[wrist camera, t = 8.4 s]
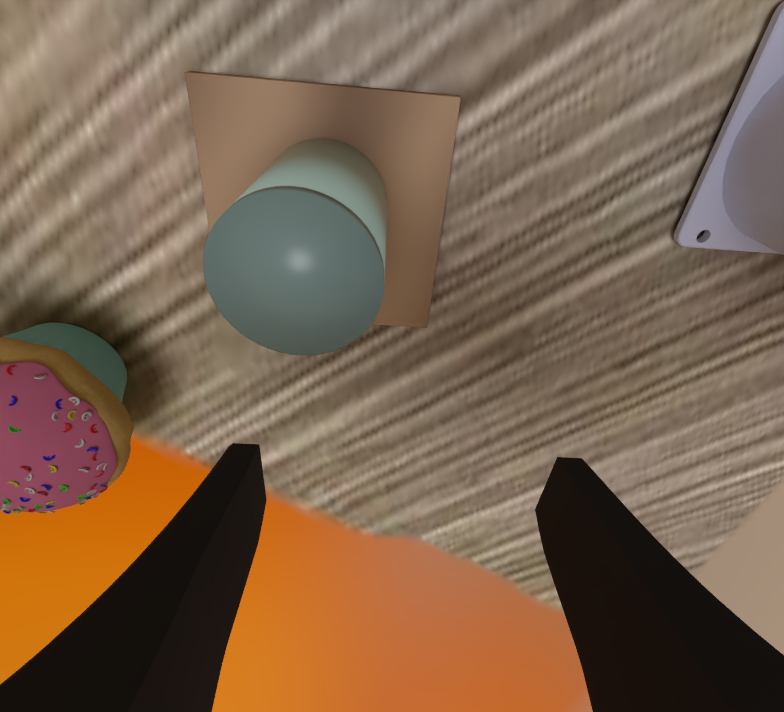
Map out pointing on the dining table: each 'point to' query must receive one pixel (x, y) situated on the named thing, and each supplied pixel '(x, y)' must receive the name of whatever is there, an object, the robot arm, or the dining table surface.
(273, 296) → the cylinder
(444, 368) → the dining table surface
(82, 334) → the cupcake
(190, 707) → the robot arm
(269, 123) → the coaster
